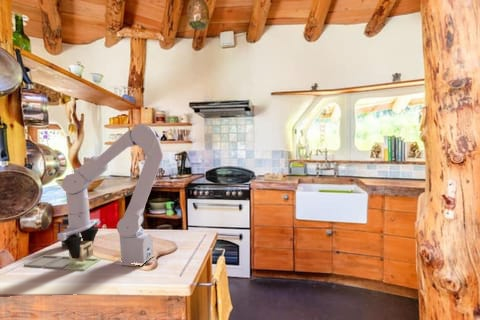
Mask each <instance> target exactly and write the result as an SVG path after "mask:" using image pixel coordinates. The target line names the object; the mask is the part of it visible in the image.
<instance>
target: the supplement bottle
mask: <svg viewBox="0 0 480 320" xmlns="http://www.w3.org/2000/svg"><path fill="white" fill-rule="evenodd" d="M61 220H62V223H61V224H60V225H59V229H60V230H59V233H61V232H62V231H64V230H65V229H67V226H69V221H68V216H65V217H63V218H62V219H61ZM76 235H77V236H78V237H81V234H80V233H77V234H76ZM61 249H62V250H68V248H67V246H66V245H65V244H64V243H63V242H62V241H61Z"/></svg>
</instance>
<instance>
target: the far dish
mask: <svg viewBox="0 0 480 320" xmlns="http://www.w3.org/2000/svg"><path fill="white" fill-rule="evenodd" d="M60 257H62V255H49V254H44V255H41V256H39V257H37V258H34V259H33V260H31V261H28V262H26V263H24V264H23V266H24V267H30V268H32V267H33V268H43V269H44V266H45V265H47V264H49V263H50V262H52V261H54V260H56V259H58V258H60Z"/></svg>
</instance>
